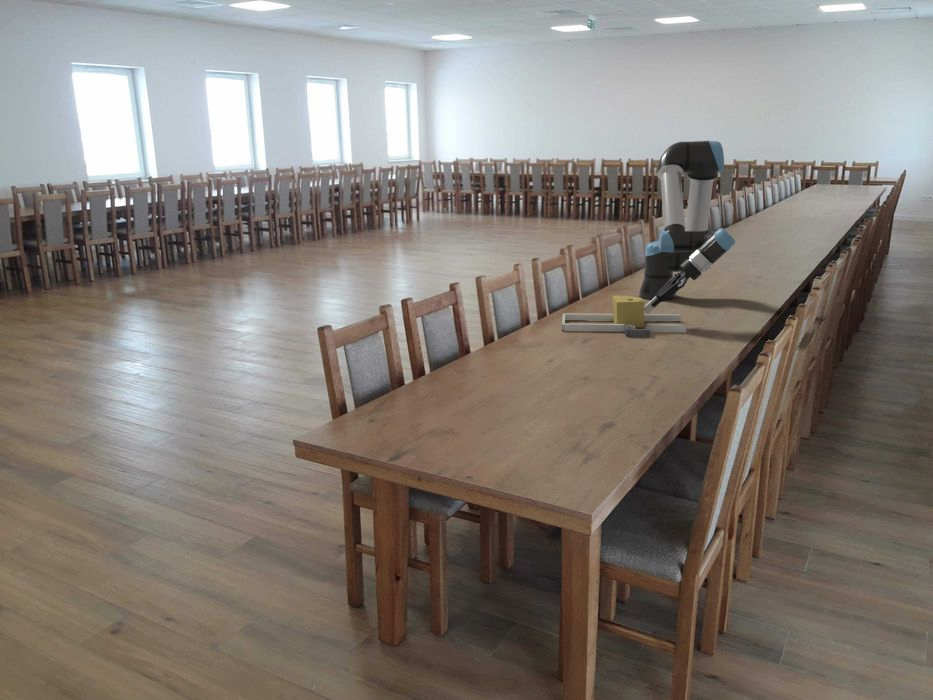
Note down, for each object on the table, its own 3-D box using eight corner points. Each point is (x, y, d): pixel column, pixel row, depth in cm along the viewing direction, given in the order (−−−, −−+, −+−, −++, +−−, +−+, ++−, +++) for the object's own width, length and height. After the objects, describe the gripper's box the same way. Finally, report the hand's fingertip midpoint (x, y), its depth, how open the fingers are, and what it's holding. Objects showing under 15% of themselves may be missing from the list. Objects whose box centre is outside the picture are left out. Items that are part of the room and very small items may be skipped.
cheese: (640, 321, 278) (641, 294, 275) (644, 328, 268) (645, 301, 265) (611, 321, 279) (612, 295, 276) (615, 329, 269) (615, 301, 266)
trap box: (562, 315, 290) (563, 309, 289) (677, 316, 284) (678, 310, 283) (561, 335, 262) (561, 328, 262) (688, 337, 256) (689, 330, 255)
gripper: (705, 276, 260) (654, 322, 267) (699, 269, 272) (650, 314, 279) (690, 261, 259) (639, 308, 266) (685, 255, 271) (636, 300, 278)
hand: (645, 311), depth 273 cm, fingers closed
